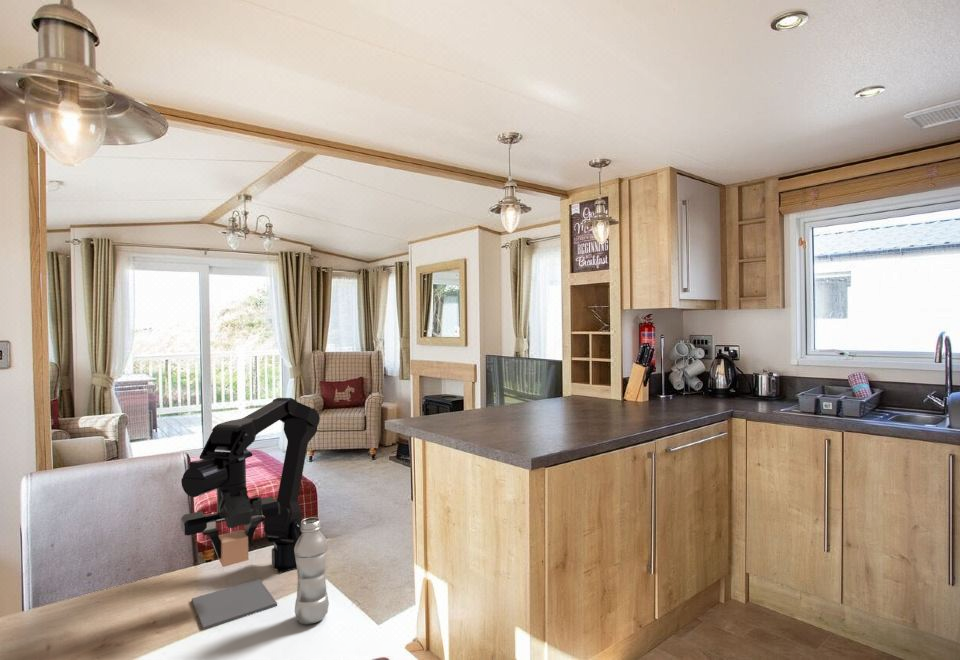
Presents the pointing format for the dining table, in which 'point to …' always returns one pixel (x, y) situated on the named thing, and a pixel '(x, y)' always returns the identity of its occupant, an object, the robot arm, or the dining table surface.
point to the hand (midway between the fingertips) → (233, 554)
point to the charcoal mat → (232, 603)
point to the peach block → (233, 548)
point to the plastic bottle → (311, 573)
